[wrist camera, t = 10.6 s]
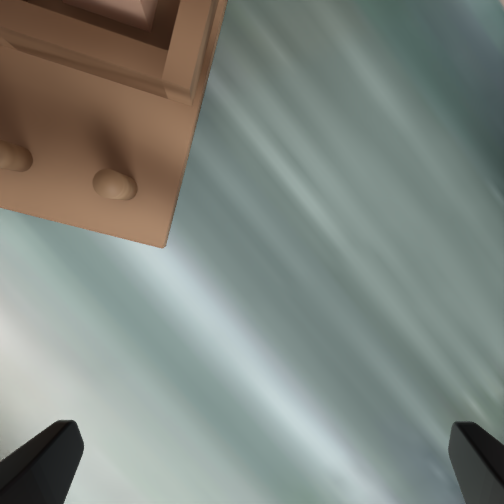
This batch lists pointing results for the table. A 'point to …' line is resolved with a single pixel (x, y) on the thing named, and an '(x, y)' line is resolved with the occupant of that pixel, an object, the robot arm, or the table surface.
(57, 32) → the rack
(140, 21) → the clay bar
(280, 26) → the table surface
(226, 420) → the table surface
